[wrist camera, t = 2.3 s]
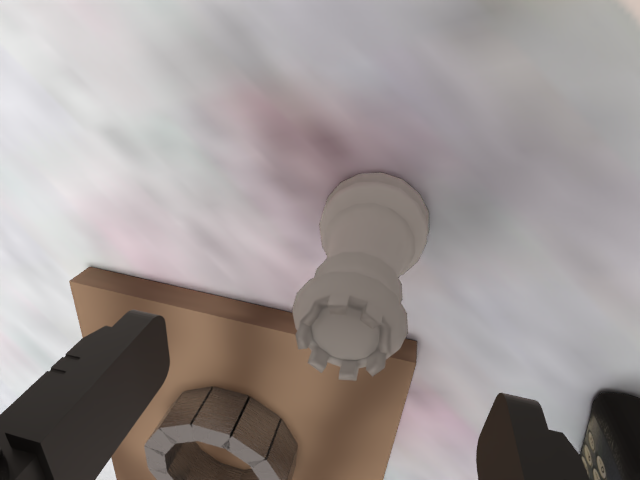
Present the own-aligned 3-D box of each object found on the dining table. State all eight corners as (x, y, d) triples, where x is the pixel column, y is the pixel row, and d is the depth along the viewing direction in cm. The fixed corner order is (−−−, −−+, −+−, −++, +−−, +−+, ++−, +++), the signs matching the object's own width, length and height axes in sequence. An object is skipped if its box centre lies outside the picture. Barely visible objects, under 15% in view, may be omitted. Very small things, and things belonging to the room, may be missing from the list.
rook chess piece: (321, 255, 19) (261, 386, 12) (328, 161, 17) (259, 256, 10) (419, 271, 18) (415, 422, 11) (439, 175, 16) (448, 288, 9)
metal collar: (301, 409, 22) (288, 451, 20) (292, 495, 26) (279, 538, 23) (164, 373, 23) (137, 409, 21) (175, 460, 27) (153, 498, 25)
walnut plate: (417, 341, 20) (416, 363, 19) (362, 536, 29) (359, 560, 27) (89, 266, 23) (69, 281, 21) (130, 464, 31) (117, 483, 30)
